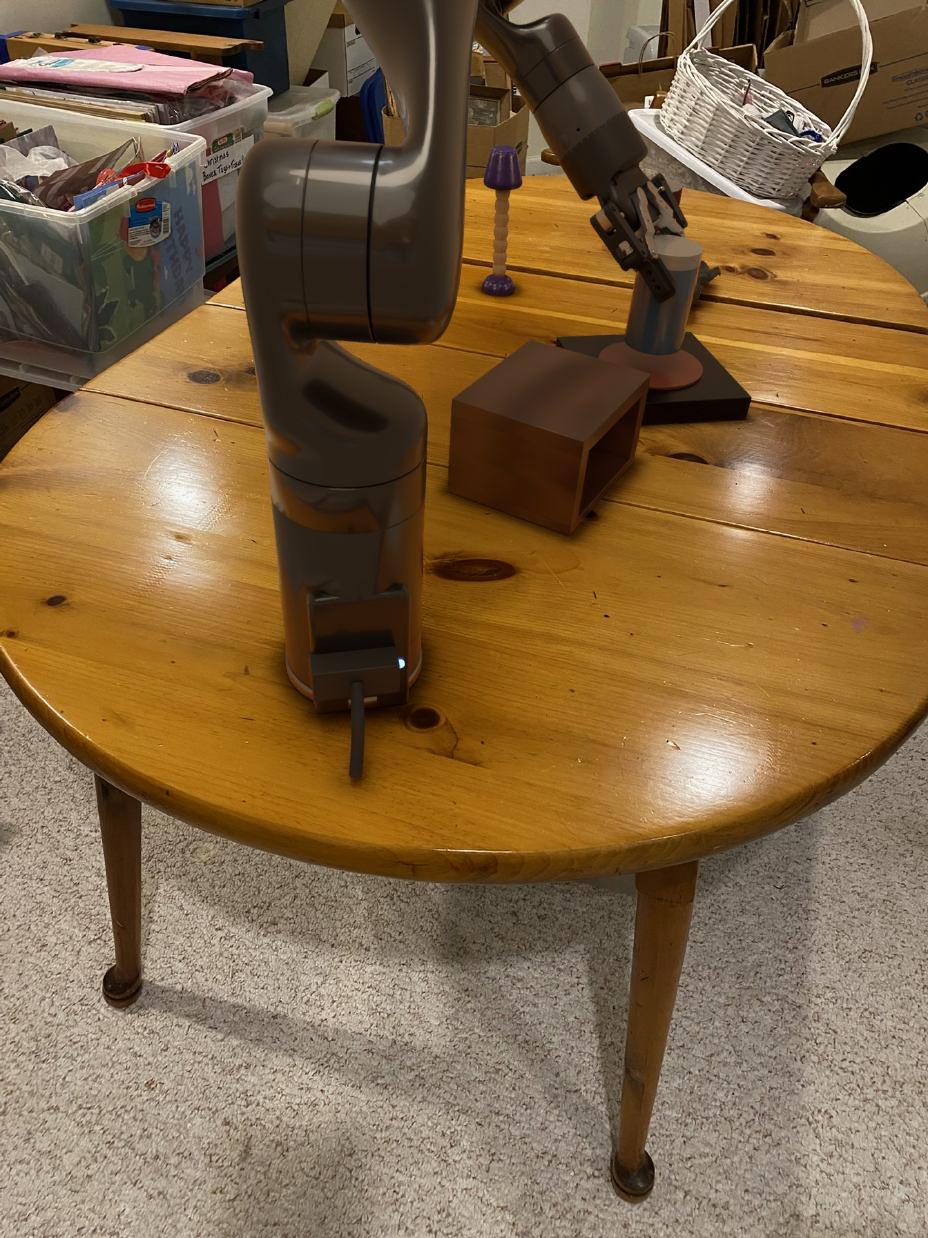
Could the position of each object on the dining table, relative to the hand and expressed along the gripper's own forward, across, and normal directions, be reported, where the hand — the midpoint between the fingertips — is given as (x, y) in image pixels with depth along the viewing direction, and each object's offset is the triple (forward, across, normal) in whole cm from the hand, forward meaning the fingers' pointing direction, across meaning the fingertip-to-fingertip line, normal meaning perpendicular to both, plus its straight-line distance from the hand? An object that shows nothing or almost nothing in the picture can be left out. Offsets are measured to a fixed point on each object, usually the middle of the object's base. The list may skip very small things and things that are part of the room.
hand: (681, 286), depth 91 cm
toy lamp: (-11, +14, +28) cm, 33 cm away
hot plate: (+7, 0, +9) cm, 11 cm away
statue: (+4, +26, +12) cm, 29 cm away
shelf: (+6, -23, +10) cm, 25 cm away
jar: (+3, 0, +6) cm, 7 cm away
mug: (-5, +36, +21) cm, 42 cm away
